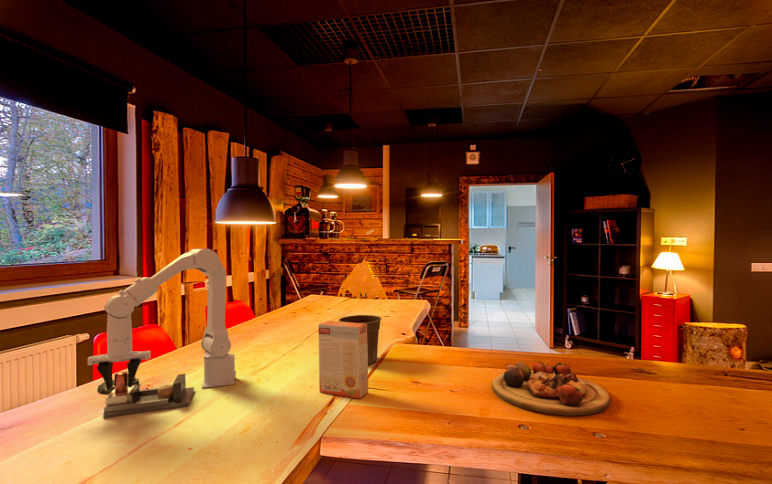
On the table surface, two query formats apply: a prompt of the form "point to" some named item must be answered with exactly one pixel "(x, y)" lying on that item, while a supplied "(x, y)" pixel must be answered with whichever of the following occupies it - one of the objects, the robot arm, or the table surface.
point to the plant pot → (368, 332)
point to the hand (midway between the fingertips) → (120, 387)
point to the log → (103, 389)
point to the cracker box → (343, 359)
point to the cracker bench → (154, 400)
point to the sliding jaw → (122, 391)
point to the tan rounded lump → (165, 392)
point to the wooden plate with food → (550, 390)
